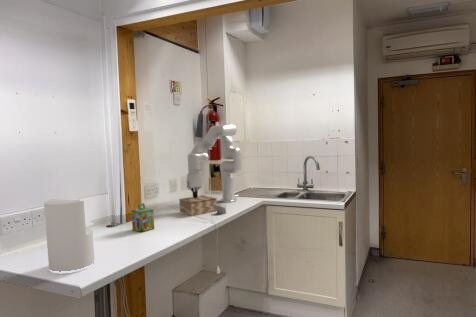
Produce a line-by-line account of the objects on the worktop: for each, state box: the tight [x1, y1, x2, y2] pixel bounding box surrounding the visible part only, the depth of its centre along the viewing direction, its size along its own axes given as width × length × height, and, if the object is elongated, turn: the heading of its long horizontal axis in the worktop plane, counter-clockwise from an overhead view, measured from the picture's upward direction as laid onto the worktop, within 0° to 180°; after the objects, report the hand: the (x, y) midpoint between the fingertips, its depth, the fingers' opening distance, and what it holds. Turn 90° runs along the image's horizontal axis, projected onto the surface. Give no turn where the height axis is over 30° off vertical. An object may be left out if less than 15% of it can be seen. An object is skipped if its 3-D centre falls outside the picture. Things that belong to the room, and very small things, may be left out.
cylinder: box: [43, 199, 96, 272], centre depth 145 cm, size 17×17×28 cm
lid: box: [178, 194, 217, 204], centre depth 241 cm, size 20×16×1 cm
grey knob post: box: [216, 204, 227, 215], centre depth 234 cm, size 6×6×5 cm
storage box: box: [178, 199, 218, 217], centre depth 241 cm, size 20×16×8 cm
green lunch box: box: [130, 203, 155, 233], centre depth 199 cm, size 9×9×15 cm
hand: (195, 197), depth 243 cm, fingers closed
